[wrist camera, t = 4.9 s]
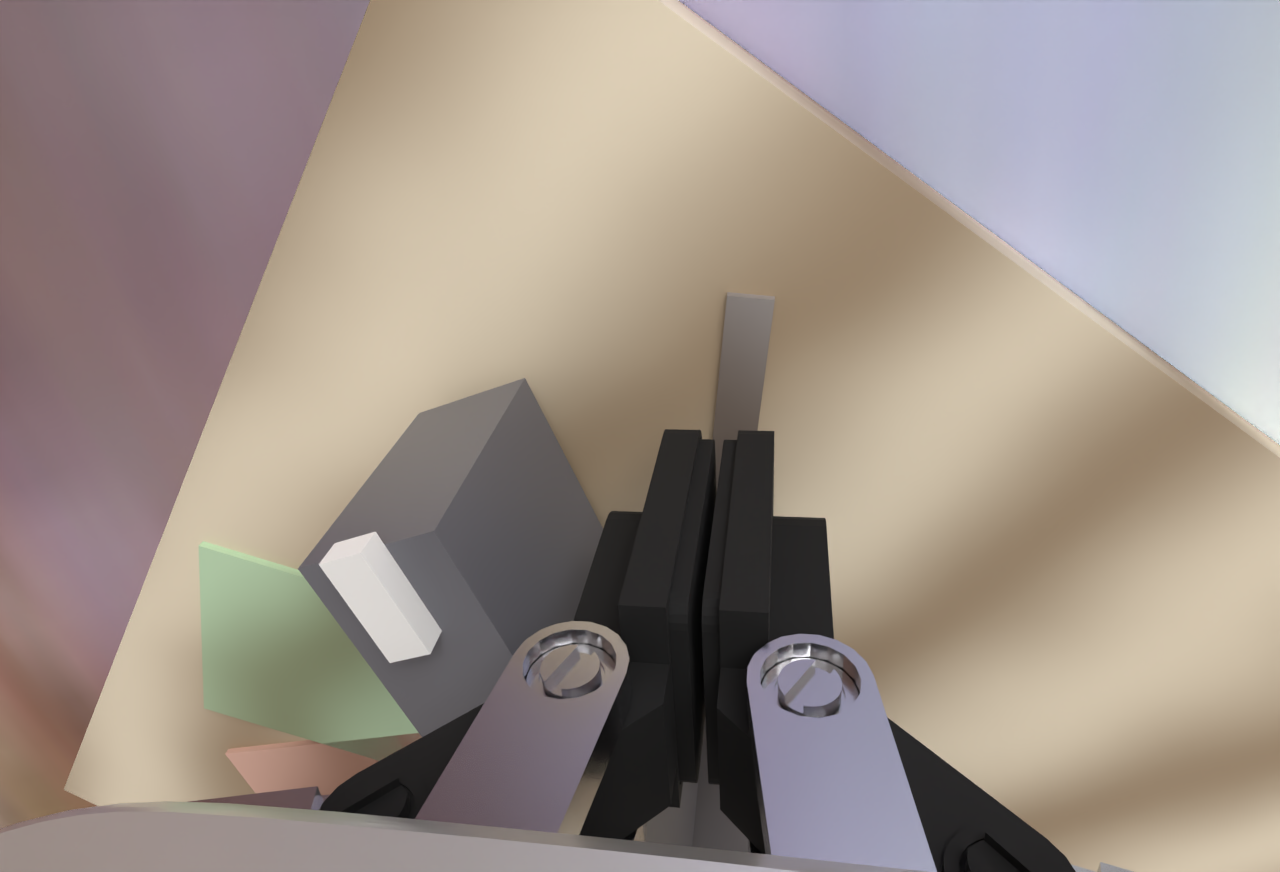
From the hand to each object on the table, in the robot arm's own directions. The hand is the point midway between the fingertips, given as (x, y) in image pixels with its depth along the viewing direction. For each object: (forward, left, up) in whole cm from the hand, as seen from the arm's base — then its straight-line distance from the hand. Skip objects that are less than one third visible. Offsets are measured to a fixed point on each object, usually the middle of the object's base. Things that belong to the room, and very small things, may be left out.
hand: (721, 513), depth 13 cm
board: (-4, +7, -3) cm, 8 cm away
